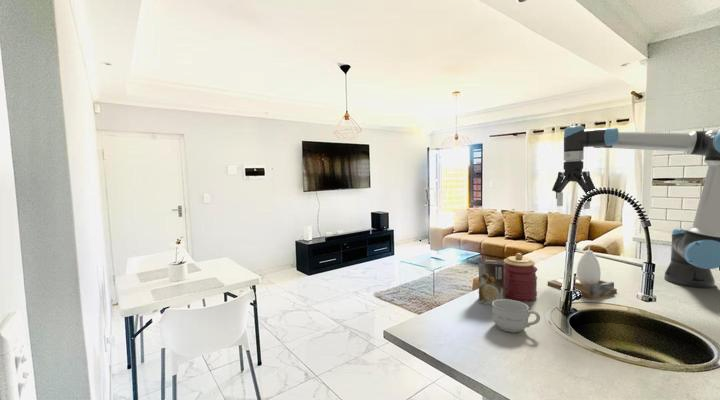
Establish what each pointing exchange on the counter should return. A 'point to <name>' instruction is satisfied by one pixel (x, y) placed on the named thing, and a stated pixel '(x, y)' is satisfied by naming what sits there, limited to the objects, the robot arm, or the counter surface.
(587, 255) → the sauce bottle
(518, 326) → the teacup
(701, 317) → the counter surface
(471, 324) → the counter surface
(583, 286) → the guide board
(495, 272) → the coffee box
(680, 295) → the counter surface
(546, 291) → the counter surface
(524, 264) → the canister
